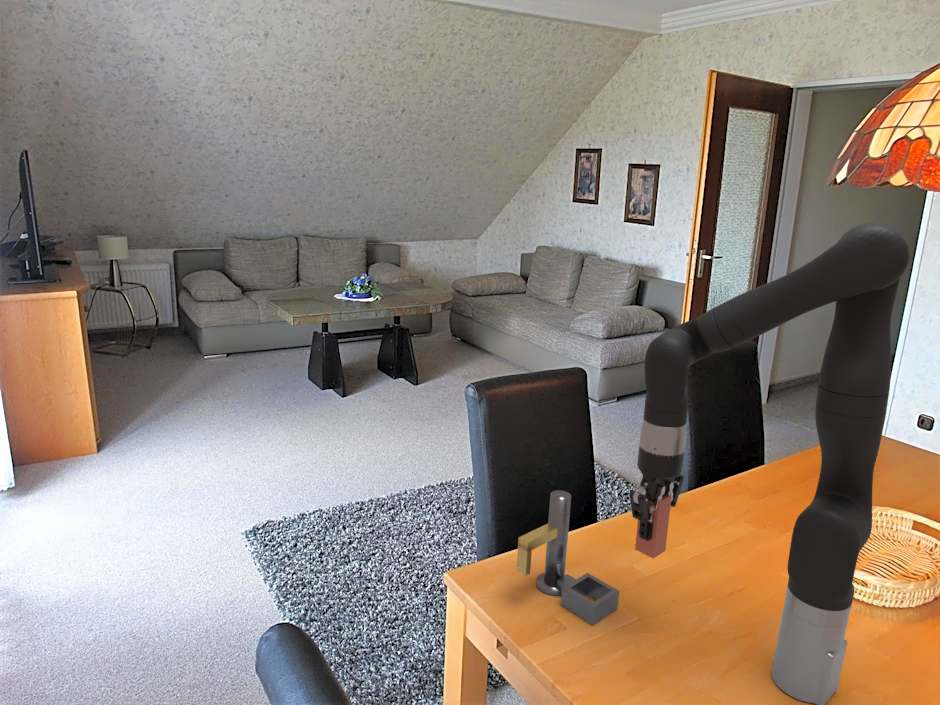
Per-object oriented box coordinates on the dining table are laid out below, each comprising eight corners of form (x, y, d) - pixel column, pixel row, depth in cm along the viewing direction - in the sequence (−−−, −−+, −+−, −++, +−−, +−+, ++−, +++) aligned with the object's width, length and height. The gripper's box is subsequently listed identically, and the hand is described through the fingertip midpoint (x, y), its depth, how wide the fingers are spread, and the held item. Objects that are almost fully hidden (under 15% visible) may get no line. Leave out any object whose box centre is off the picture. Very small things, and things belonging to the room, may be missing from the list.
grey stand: (617, 609, 129) (627, 515, 124) (570, 640, 120) (579, 540, 115) (552, 570, 140) (559, 483, 135) (506, 596, 131) (511, 503, 126)
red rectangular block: (665, 551, 121) (671, 495, 118) (653, 558, 119) (659, 501, 116) (647, 542, 124) (652, 487, 121) (635, 549, 121) (640, 493, 118)
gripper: (657, 463, 108) (647, 557, 113) (703, 441, 118) (692, 529, 122) (619, 448, 114) (610, 539, 118) (665, 429, 123) (656, 514, 128)
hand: (652, 534), depth 120 cm, fingers closed on red rectangular block, 3 cm apart
